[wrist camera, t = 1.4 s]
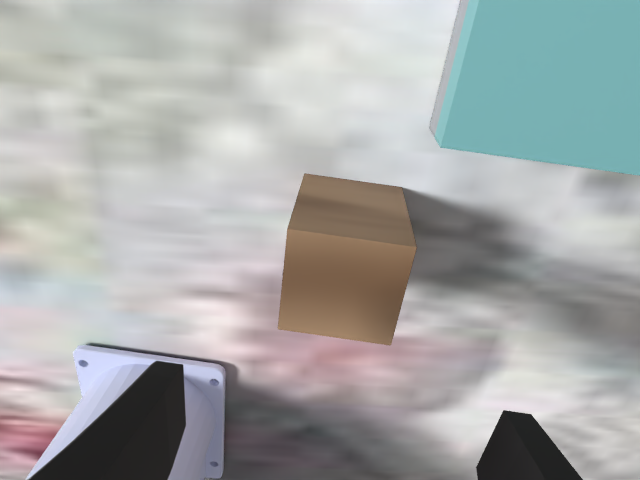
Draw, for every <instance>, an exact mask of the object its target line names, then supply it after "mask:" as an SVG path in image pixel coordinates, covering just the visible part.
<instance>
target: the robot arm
mask: <svg viewBox="0 0 640 480" xmlns="http://www.w3.org/2000/svg"><path fill="white" fill-rule="evenodd" d="M73 356H74V361H75V366H76V370H77V375H78V380H79V385H80V389H81V394H82V399H81V400H80V401H79V403H78V404H77V406H76V407H75V409H74V410H73V412H72V413H71V414H70V416H69V417H68V419H67V420H66V422H65V423H64V424H63V426H62V427H61V429H60V430H59V432H58V433H57V435H56V436H55V437H54V439H53V440H52V442H51V443H50V445H49V446H48V447H47V449H46V450H45V452H44V453H43V455H42V456H41V458H40V459H39V460H38V462H37V463H36V465H35V466H34V468H33V469H32V471H31V472H30V473H29V475H28V476H27V478H26V479H25V480H204V479H205V477H207V478H214V479H217V478H220V477H221V476H222V474H223V470H224V423H225V369H224V368H223V367H222V366H221V365H219V364H214V363H207V362H200V361H193V360H186V359H179V358H172V357H165V356H158V355H151V354H144V353H137V352H131V351H124V350H117V349H110V348H103V347H96V346H89V345H80V346H78V347H77V348H76V349H75V351H74V352H73ZM214 379H216V380H214ZM476 468H477V476H478V480H583V479H582V478H581V477H580V476H579V474H578V473H577V472H576V471H575V469H574V468H573V467H572V466H571V464H570V463H569V462H568V460H567V459H566V458H565V457H564V455H563V454H562V453H561V452H560V450H559V449H558V448H557V446H556V445H555V444H554V443H553V441H552V440H551V439H550V438H549V436H548V435H547V434H546V432H545V431H544V430H543V429H542V427H541V426H540V425H539V424H538V422H537V421H536V420H535V419H534V417H533V416H532V415H531V414H525V413H518V412H511V411H503V413H502V415H501V417H500V419H499V421H498V423H497V425H496V427H495V429H494V431H493V433H492V436H491V438H490V440H489V442H488V444H487V446H486V448H485V450H484V452H483V454H482V456H481V459H480V461H479V463H478V465H477V467H476Z"/></svg>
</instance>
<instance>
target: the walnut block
mask: <svg viewBox="0 0 640 480" xmlns="http://www.w3.org/2000/svg"><path fill="white" fill-rule="evenodd" d="M416 249H417V246H416V242H415V238H414V234H413V230H412V226H411V222H410V218H409V214H408V210H407V206H406V202H405V198H404V194H403V189H402V187H396V186H389V185H382V184H375V183H368V182H361V181H354V180H347V179H340V178H333V177H325V176H318V175H311V174H304V177H303V180H302V183H301V186H300V190H299V193H298V196H297V199H296V203H295V206H294V209H293V212H292V216H291V219H290V222H289V225H288V229H287V239H286V249H285V259H284V270H283V280H282V291H281V301H280V312H279V322H278V329H280V330H287V331H294V332H301V333H308V334H315V335H322V336H329V337H336V338H343V339H350V340H356V341H363V342H370V343H377V344H384V345H391V343H392V339H393V335H394V332H395V328H396V324H397V320H398V316H399V313H400V309H401V305H402V301H403V298H404V294H405V290H406V286H407V283H408V279H409V275H410V271H411V268H412V264H413V260H414V256H415V253H416Z"/></svg>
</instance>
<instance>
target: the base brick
mask: <svg viewBox="0 0 640 480" xmlns="http://www.w3.org/2000/svg"><path fill="white" fill-rule="evenodd" d="M429 129H430V130H431V132H432V134H433V136H434V137H435V139H436V141H437V142H438V144H439V146H440V147H441V148H447V149H455V150H462V151H469V152H476V153H483V154H490V155H497V156H505V157H512V158H519V159H526V160H533V161H540V162H547V163H555V164H562V165H569V166H576V167H583V168H590V169H597V170H605V171H612V172H619V173H626V174H633V175H640V0H460V4H459V8H458V12H457V16H456V20H455V24H454V29H453V33H452V37H451V41H450V45H449V49H448V53H447V57H446V61H445V65H444V70H443V74H442V78H441V82H440V86H439V90H438V94H437V98H436V102H435V107H434V111H433V115H432V119H431V123H430V127H429Z"/></svg>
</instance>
